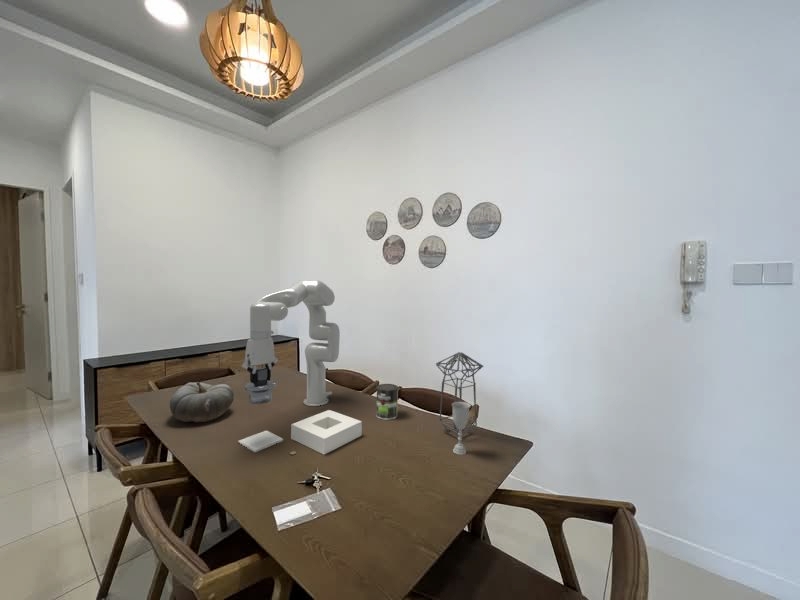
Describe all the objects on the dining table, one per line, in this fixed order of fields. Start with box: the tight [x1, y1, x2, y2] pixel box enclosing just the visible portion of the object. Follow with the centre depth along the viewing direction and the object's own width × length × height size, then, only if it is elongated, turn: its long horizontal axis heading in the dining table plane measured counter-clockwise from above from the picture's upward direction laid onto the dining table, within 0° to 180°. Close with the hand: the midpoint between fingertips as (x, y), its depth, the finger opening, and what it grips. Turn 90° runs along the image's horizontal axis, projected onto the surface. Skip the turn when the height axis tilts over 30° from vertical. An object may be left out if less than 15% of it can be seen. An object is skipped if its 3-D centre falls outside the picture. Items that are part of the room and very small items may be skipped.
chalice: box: [451, 401, 471, 455], centre depth 128 cm, size 7×7×18 cm
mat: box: [237, 430, 284, 453], centre depth 133 cm, size 12×12×1 cm
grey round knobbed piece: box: [244, 366, 277, 405], centre depth 131 cm, size 11×11×12 cm
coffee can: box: [375, 383, 399, 421], centre depth 161 cm, size 10×10×14 cm
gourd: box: [169, 381, 235, 423], centre depth 155 cm, size 25×25×17 cm
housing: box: [290, 409, 363, 455], centre depth 138 cm, size 20×20×6 cm
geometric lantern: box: [435, 351, 484, 439], centre depth 143 cm, size 16×16×35 cm
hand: (260, 381), depth 131 cm, fingers closed on grey round knobbed piece, 5 cm apart
